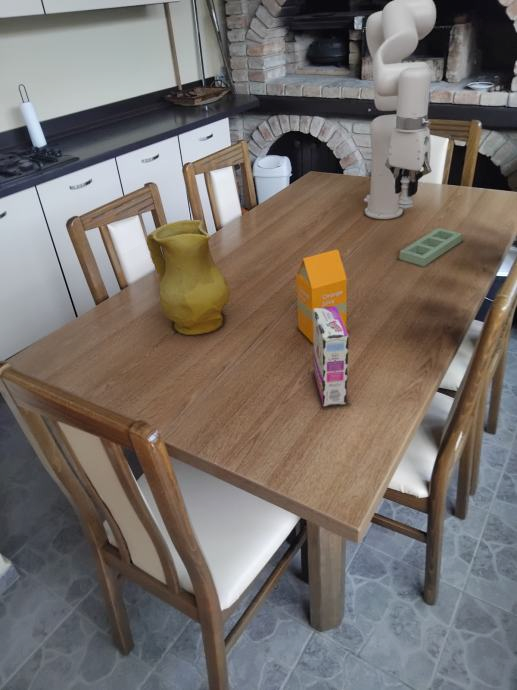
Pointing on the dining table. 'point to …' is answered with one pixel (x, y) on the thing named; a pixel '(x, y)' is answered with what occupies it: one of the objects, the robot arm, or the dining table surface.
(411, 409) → the dining table surface
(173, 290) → the pitcher
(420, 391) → the dining table surface
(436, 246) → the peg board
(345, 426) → the dining table surface
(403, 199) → the rook chess piece
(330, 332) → the candy bar box
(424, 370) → the dining table surface
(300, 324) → the orange juice
